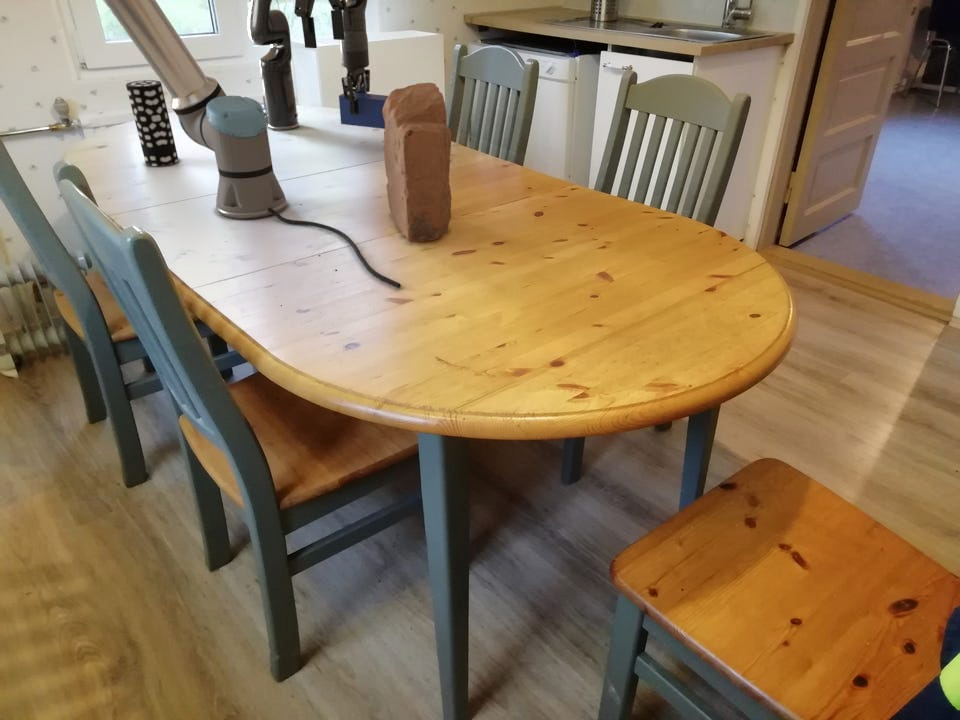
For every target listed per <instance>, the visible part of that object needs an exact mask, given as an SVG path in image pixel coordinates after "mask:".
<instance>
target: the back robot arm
mask: <svg viewBox="0 0 960 720" xmlns="http://www.w3.org/2000/svg"><path fill="white" fill-rule="evenodd" d="M272 3H273V0H250V2H249V8H248V13H247V31H248V36H249V39H250V40H251V42H252V43H253V44H254V45H256V46H258V47H266V46H270V48H269V51H268V52H267V53H265V55H263V56H262V57H261V58H260V59H259V61H258V64H259V71H260V77H261V83H262V90H263V94H262V101H263V102H262V103H263V107H262V108H263V110H264V115H265V117H266V121H267V127H268V128H269V129H271V130H276V131H277V130H278V131H283V130H284V131H286V130H293V129H296V128H298V127H300V123H299V118H298V117H299V112H298V110H297V102H296V95H295V86H294V78H293V72H292V71H293V69H292V60H293V59H292V57H293V55H292V42H291V41H292V40H291V31H290V30H291V29H290V23H289V20H288V18H287V16H286V14H285V13H284V12H283V11H282V10H280V9H271V5H272ZM346 3H347V5H346V10H342V17H343V28H344V39H345V40H339V50H340V61H341V63H340V64H341V66H342V67H343V68H345V69H346V73H345V75H346V76H345V77H343V76H342V77H341V86H342V91H343V93H344V98H345V99H347V100H349V106H350V114H353V115H357V114H358V104H357V95H358V93H365V94H368V93H370V89H371V70H370V69H367V68H368V67H369V66H370V57H369V55H370V53H369V40H368V34H367V22H366V20H367V19H366V10H367V4H368V0H346ZM347 92H348V95H347Z"/></svg>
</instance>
